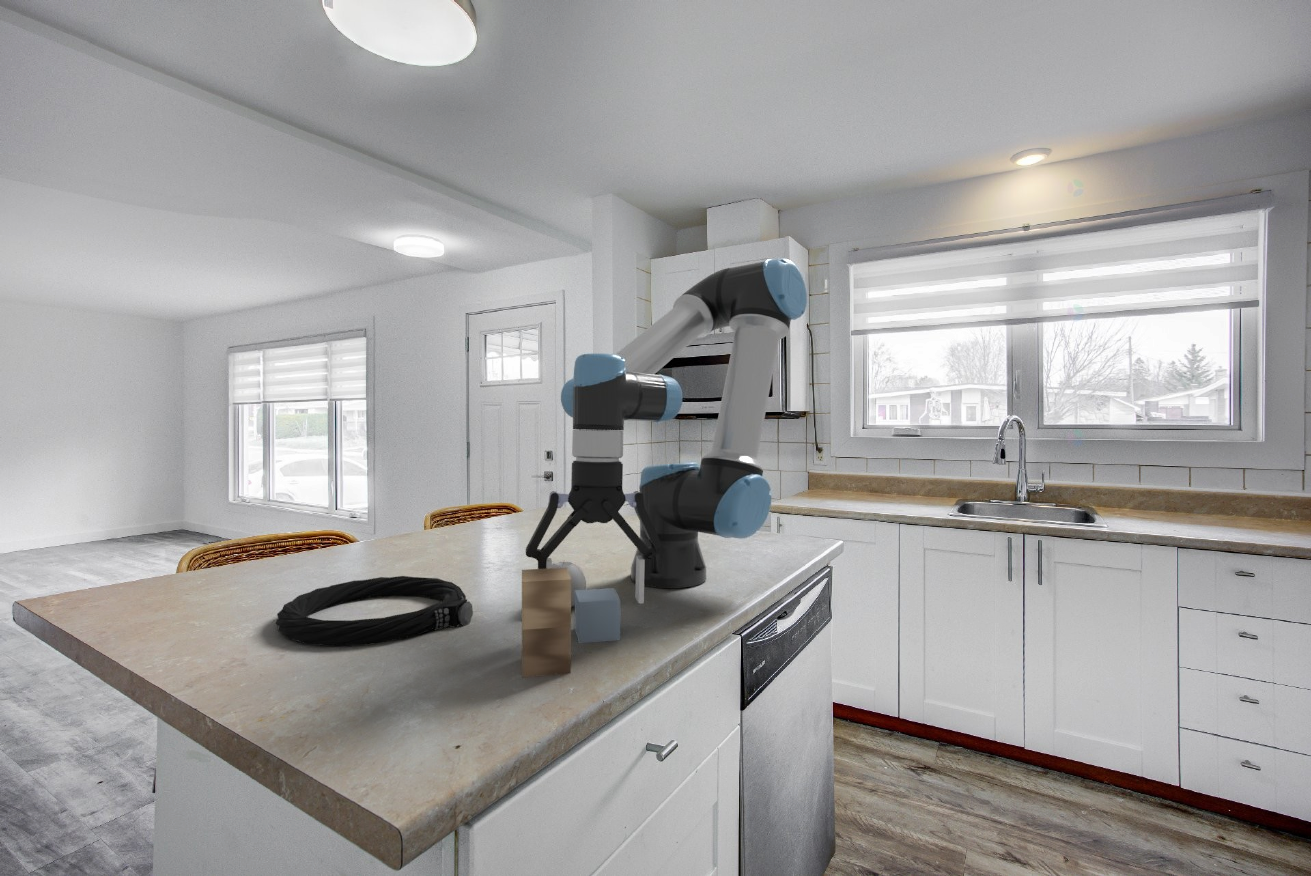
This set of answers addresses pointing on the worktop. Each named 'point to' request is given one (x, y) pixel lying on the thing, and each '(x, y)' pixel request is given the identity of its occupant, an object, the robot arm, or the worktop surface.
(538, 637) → the tower lower block
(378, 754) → the worktop surface
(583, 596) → the slate block
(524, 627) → the tower upper block
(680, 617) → the worktop surface
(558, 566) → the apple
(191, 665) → the worktop surface
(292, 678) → the worktop surface
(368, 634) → the ring
